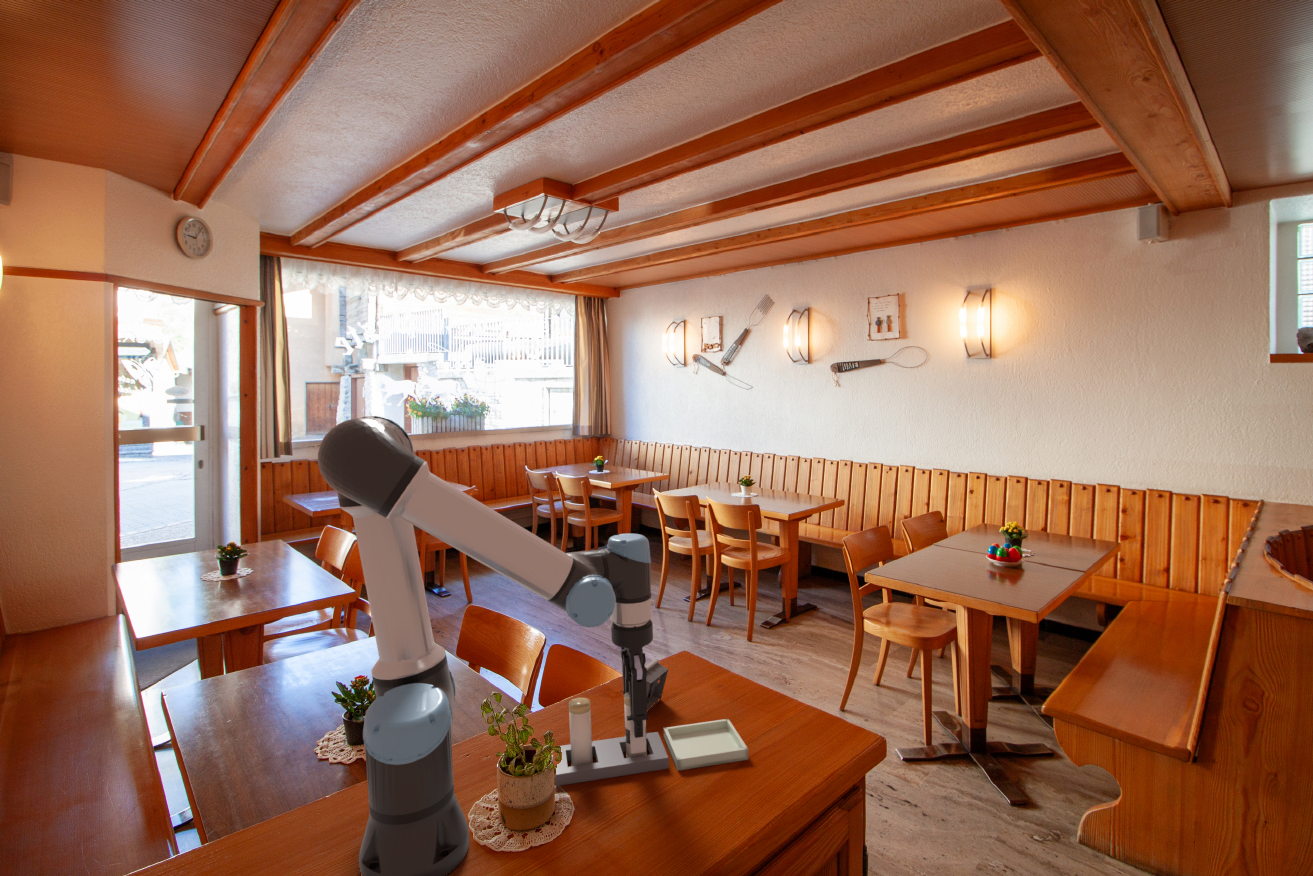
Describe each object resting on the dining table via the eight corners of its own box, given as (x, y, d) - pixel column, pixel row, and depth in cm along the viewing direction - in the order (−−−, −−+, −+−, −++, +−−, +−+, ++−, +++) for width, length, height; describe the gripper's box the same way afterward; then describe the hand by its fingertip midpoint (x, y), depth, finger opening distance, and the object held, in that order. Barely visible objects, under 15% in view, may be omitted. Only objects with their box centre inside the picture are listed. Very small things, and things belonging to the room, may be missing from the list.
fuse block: (555, 786, 110) (555, 775, 109) (552, 757, 118) (552, 747, 118) (668, 768, 114) (668, 757, 114) (658, 741, 123) (657, 731, 122)
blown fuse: (628, 766, 115) (625, 701, 114) (624, 754, 119) (622, 692, 118) (648, 762, 116) (646, 698, 115) (644, 751, 119) (642, 689, 119)
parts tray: (677, 770, 113) (677, 759, 113) (663, 737, 124) (663, 728, 124) (748, 759, 116) (748, 749, 116) (728, 728, 127) (728, 718, 126)
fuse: (572, 774, 113) (569, 709, 112) (570, 762, 116) (567, 699, 116) (593, 771, 114) (591, 706, 113) (591, 759, 117) (588, 696, 116)
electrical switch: (647, 694, 142) (649, 655, 141) (668, 701, 140) (670, 661, 138) (625, 713, 134) (627, 671, 133) (646, 721, 131) (648, 679, 130)
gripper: (662, 634, 108) (666, 768, 109) (643, 603, 124) (647, 719, 126) (618, 639, 106) (623, 774, 108) (605, 607, 123) (609, 725, 124)
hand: (636, 744), depth 117 cm, fingers closed on blown fuse, 4 cm apart
